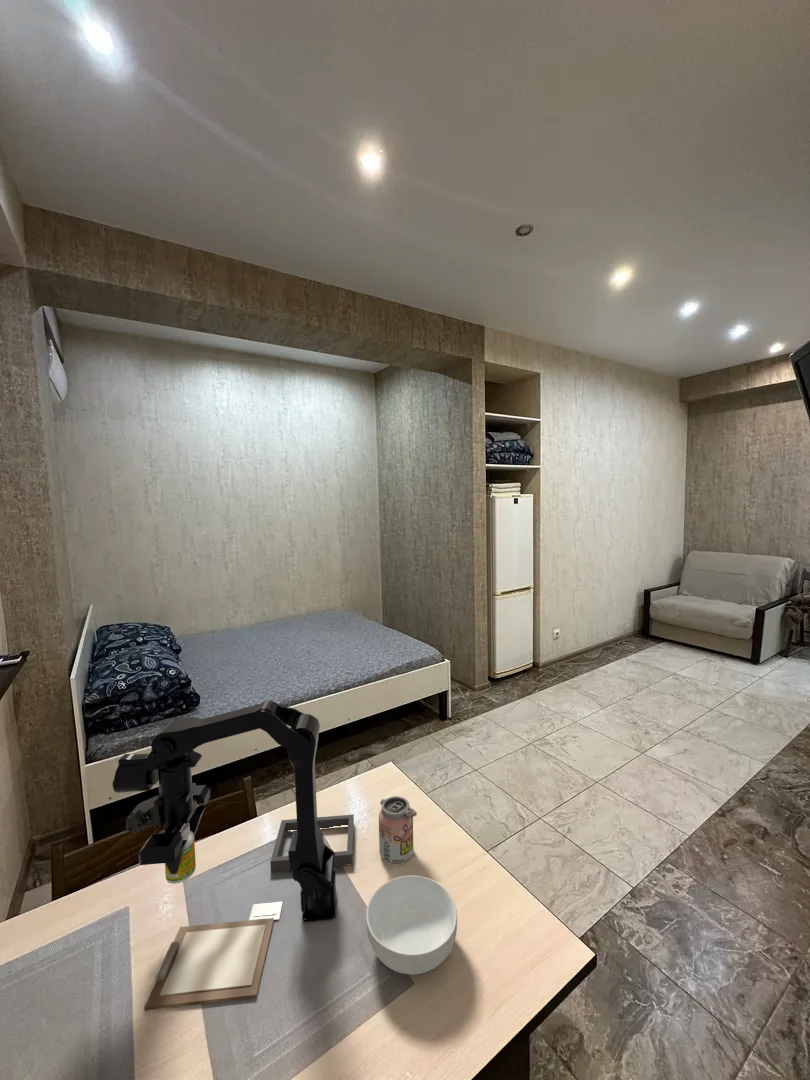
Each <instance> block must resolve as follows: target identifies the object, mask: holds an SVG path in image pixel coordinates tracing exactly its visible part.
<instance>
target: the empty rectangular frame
mask: <svg viewBox="0 0 810 1080" xmlns="http://www.w3.org/2000/svg"><path fill="white" fill-rule="evenodd" d="M354 817H355V815H354V813H352V814H344V815H343V814H342V815H330V816H319V817H318V816H317V823H318V826H319V828H329V827H333V826H341V825H348V827H347V840H346V841H347V842H346V845H347V846H346V850H342V851H341V850H340V851H334V852H335V860H334V867H341V866H348V865H347V864H352V865H353V858H352V856H353V855H354V854H353V853H354V852H353V851H354V831H353V827H354V826H355V822H354ZM354 828H355V827H354ZM288 830H289V831H290V830H297V818H293V819H290V818H289V819H282V820H281V822H280V825H279V828H278V832H277V836H276V840H275V843H274V847H273V850H272V854H271V858H270V872H271V873H272V872H274V873H275V872H284V871H289V867H290V861H289V856H288V855H282V856H281V854H282V849H283V845H284V842H285V837H286V834H285V833H287V832H286V831H288Z"/></svg>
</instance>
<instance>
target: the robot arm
mask: <svg viewBox="0 0 810 1080" xmlns="http://www.w3.org/2000/svg"><path fill="white" fill-rule="evenodd" d="M320 726H321V725H320V721H319V719H318V718H316V717H315V716H314V715H312V714H309V713H304V712H301V711H300V710H298V709H297V708H293V707H289V706H284V705H280V704H278V703H277V702H275V701H273V700H264V701H263V702H260V703H257V704H255V705H251V706H250V705H249V706H247V707H243V708H240V709H234V710H231V711H228V712H224V713H221V714H217V715H213V716H209V717H203V718H199V717H195V716H187V717H177V718H173V719H172V720H169V722H168V723H167V724H165V726H164V727H162V729H161V730H160V731H159V732H158V733H157V734H156V735H155V736H154V737H153V739H152V741H151V745H150V746H151V751H150V752H149V753H139V754H138V753H137V754H133V753H124V754H123V755H122V756H121V757H120V758H119V759H118V761H117V762H118V766H117V768H116V770H115V773H114V777H113V780H112V789H113V791H114V792H115V793H116V794H122V793H124V794H125V793H134V792H136V793H137V792H148V791H151V789H152V788H153V787H154V785H156V784H157V783H158V791H159V795H158V794H157V795H156V796H153V797H151V798H149V799H146V800H144V801H142V802H140V803H139V804H137V805H136V806H135V807H134V809H133V810H132V811H131V813H130V814H129V815H128V816H127V818H126V821H125V823H126V826H125V830H127V832H129V833H130V834H135V833H139V832H140V831H142V830H143V829H145V828H148V827H150V826H152V825H153V828H154V829H156V828H157V829H158V828H161V827H162V826H164V827H163V829H162V833H153V834H151V836H149V837H148V839H147V840H146V841H145V843H144V844H143V846H142V848H141V849H140V850H139V852H138V863H139V865H140V866H147V865H158V864H164V865H165V864H166V866H167V868H168V869H169V871H170V873H171V874H176V873H177V872H178V869H179V866H180V863H181V859H182V856H183V852H184V849H185V846H186V842H187V840H183V839H182V833H181V830H182V828H183V826H184V825H185V824H186V823H188V822H189V826H190V831H192V832H193V834H194V837H195V835H196V832H197V831H198V826H199V825H200V822H201V819H202V816H203V815H204V814H203V813H204V811H205V809H206V807H205V806H204V805H207V803H208V802H209V800H210V798H211V787H209V786H207V785H206V784H203V785H202V784H201V785H199V784H198V785H197V783H196V782H193V780H192V776H193V775H192V768H195V767H196V766H197V765H198V763H199V762H200V760H201V759H202V757H203V755H202V754H201V753H199V752H196V751H195V749H196V748H198V747H200V746H202V745H205V744H207V743H211V742H214V741H219V740H222V739H226V738H229V737H233V736H237V735H241V734H245V733H248V732H252V731H256V730H262V731H264V732H265V733H267V734H268V735H269V736H270V738H272V739H273V741H275V742H276V743H277V744H278V745H279V746H281V747H283V748H285V749H286V750H287V751H286V752H287V756H288V760H289V762H290V764H291V766H292V768H293V771H294V786H295V787H294V788H295V789H294V790H295V809H296V811H295V812H296V819H297V831H293V832H292V835H291V840H290V843H289V847H288V851H287V854H288V855H287V856H289V861H290V867H289V870H287V872H288V873H291V875H292V880H293V881H294V882H297V883H298V884H299V886H300V888H301V889H300V911H301V912H303V913H302V923H310V922H311V923H312V922H322V921H331V920H332V921H333V920H334V919H336V916H337V915H336V913H337V904H338V903H337V902H338V901H337V900H338V890H337V883H336V882H337V881H336V879H337V878H336V870H334V868H335V866H334V860H335V852H336V851H334V850H333V849H331V848H330V847H329V846H328V845H326V844H325V841H324V837H323V833H322V830H320V828H319V826H318V823H317V817H318V809H317V808H318V807H317V805H318V804H317V784H316V783H317V782H316V761H315V760H316V754H317V753H316V752H317V748H318V742H319V736H320V734H319V733H320V728H321V727H320ZM197 800H200V801H201V805H200V806H199V804H198V802H197ZM202 805H203V806H202Z"/></svg>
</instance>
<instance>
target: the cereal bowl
mask: <svg viewBox="0 0 810 1080" xmlns="http://www.w3.org/2000/svg"><path fill="white" fill-rule="evenodd" d="M451 895H452V894H451V893H450V892H449V891H448V890H447V889H446V888H445V887H444V886H443V885H442V884H441V883H439V882H437V881H436V880H433V879H432V878H429V877H425V876H421V875H413V874H412V875H402V876H399V877H396V878H392V879H390V880H388V881H386V882H385V883H383V884H382V885H380V886H379V888H378V889H377V890H376V891H375V892H374V893H373V894H372V896H371V897H370V900H369V902H368V905H367V908H366V914H365V922H366V931H367V937H368V940H369V944H370V946H371V949H372V950H373V952H374V953H375V955H376V957H377V958H378V959H379V960H380V962H382V964H384V965H385V966H386V967H388V968H389V969H390V970H393V971H395V972H397V973H398V974H399V973H400V974H403V975H404V974H405V975H411V976H413V975H422V974H424V973H427V972H431V971H433V969H436V968H438V966H439V965H441V964H442V963H443V962H444V961H445V960H446V958H448V956H449V954H450V953H451V951H452V949H453V948H454V947H453V946H454V944H455V941H456V937H457V930H458V910H457V906H456V903H455V901H454V899H453V897H452V896H451Z"/></svg>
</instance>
